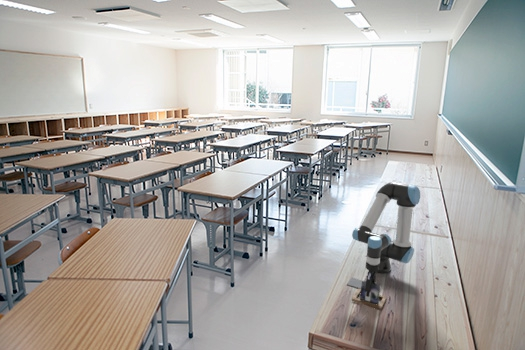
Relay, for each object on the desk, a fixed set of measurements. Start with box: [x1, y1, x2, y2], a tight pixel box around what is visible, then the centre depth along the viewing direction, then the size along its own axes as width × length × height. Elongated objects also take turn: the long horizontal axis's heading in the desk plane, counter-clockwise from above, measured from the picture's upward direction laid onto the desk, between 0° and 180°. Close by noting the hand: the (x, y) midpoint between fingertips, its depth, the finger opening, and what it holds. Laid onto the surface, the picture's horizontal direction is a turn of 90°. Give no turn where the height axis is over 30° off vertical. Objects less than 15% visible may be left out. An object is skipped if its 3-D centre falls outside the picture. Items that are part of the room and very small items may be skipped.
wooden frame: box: [351, 288, 387, 312], centre depth 203 cm, size 13×17×2 cm
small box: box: [359, 280, 381, 305], centre depth 202 cm, size 11×6×10 cm, turn 70°
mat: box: [346, 277, 363, 290], centre depth 221 cm, size 10×10×1 cm
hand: (369, 297), depth 203 cm, fingers closed on small box, 7 cm apart
